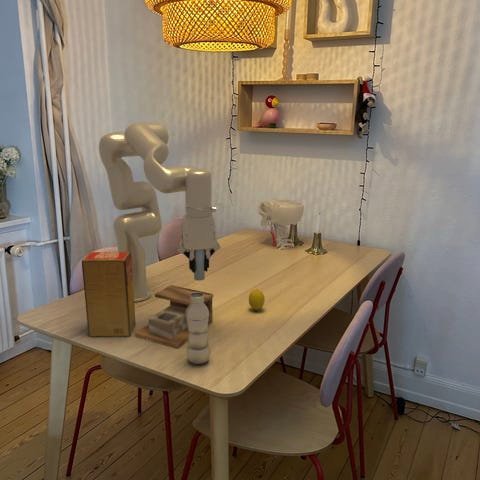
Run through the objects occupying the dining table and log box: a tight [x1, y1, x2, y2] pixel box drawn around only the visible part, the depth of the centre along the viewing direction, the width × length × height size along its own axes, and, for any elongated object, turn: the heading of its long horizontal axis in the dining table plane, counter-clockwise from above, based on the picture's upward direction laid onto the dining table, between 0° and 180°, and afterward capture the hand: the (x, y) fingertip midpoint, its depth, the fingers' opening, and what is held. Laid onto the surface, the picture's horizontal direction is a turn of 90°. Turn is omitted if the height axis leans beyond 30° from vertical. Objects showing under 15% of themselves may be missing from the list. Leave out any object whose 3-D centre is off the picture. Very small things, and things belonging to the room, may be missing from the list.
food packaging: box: [81, 251, 136, 338], centre depth 143 cm, size 13×9×25 cm
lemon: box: [248, 288, 266, 311], centre depth 160 cm, size 6×6×8 cm
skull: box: [257, 198, 305, 251], centre depth 232 cm, size 25×19×23 cm
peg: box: [193, 250, 206, 282], centre depth 139 cm, size 3×3×12 cm
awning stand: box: [134, 284, 214, 349], centre depth 146 cm, size 20×17×10 cm
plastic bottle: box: [185, 292, 211, 365], centre depth 126 cm, size 6×7×20 cm
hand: (199, 270), depth 140 cm, fingers closed on peg, 3 cm apart
